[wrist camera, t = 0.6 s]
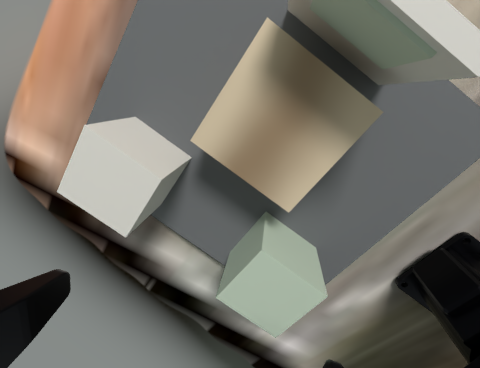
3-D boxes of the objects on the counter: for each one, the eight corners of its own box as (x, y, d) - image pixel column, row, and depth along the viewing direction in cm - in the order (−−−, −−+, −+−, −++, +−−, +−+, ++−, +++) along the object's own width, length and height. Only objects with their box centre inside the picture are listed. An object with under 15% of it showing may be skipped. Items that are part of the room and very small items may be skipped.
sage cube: (316, 247, 19) (327, 296, 15) (276, 284, 21) (275, 337, 16) (265, 211, 19) (261, 249, 14) (229, 251, 21) (215, 297, 16)
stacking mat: (496, 130, 15) (749, 174, 7) (291, 303, 23) (298, 424, 14) (201, -122, 13) (72, -475, 5) (80, 157, 21) (-53, 200, 12)
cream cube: (191, 157, 18) (161, 179, 14) (161, 204, 20) (125, 237, 15) (135, 116, 18) (84, 124, 13) (109, 168, 20) (57, 191, 15)
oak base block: (358, 107, 15) (383, 112, 12) (286, 187, 18) (288, 212, 14) (270, 36, 15) (267, 17, 11) (209, 130, 17) (190, 140, 14)
